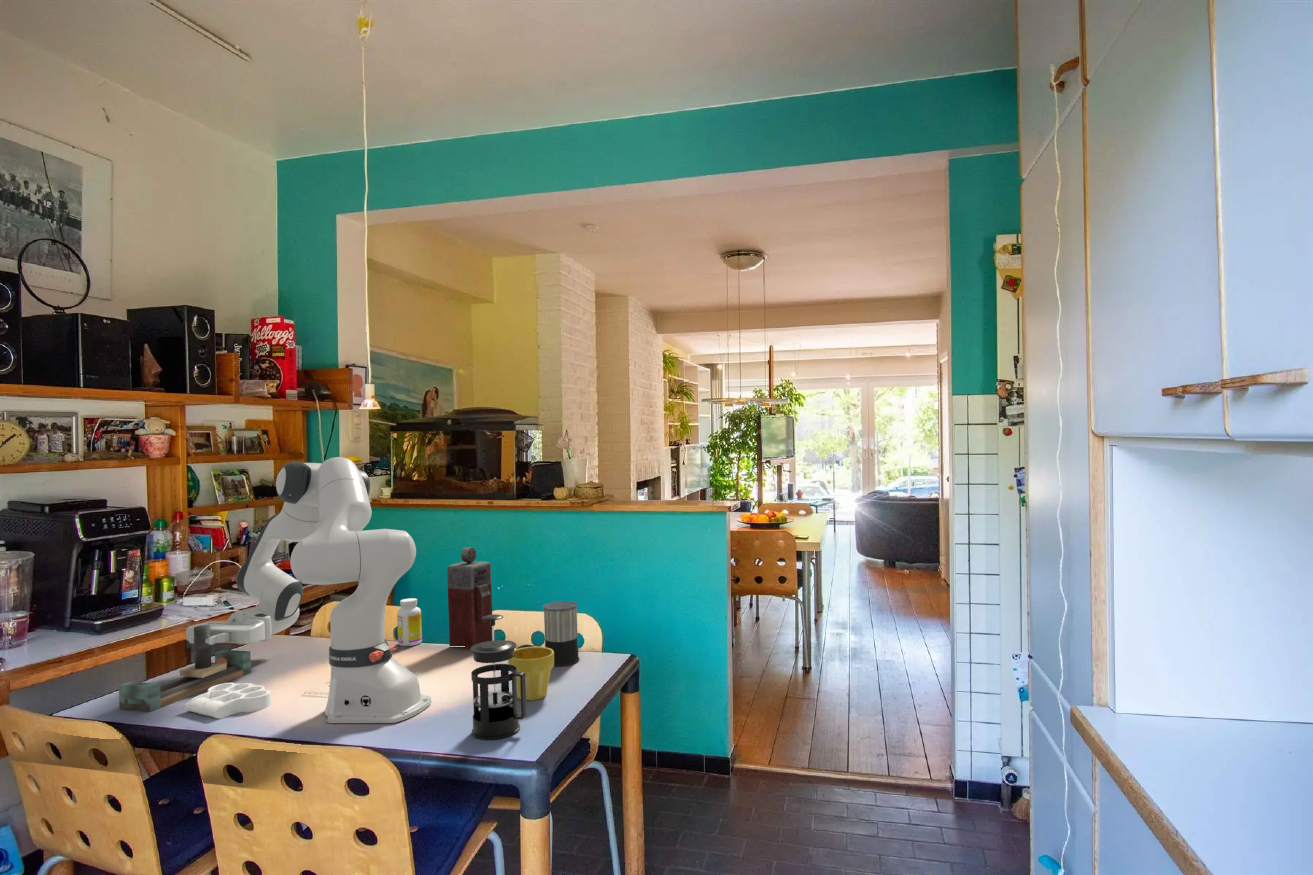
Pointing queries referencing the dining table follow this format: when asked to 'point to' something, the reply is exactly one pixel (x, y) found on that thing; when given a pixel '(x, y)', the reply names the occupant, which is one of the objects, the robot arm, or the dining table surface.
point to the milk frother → (561, 632)
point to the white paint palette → (230, 700)
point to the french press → (495, 706)
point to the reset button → (222, 660)
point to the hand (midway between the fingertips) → (199, 640)
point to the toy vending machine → (469, 601)
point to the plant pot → (533, 670)
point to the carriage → (202, 656)
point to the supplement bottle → (409, 623)
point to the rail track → (181, 684)
